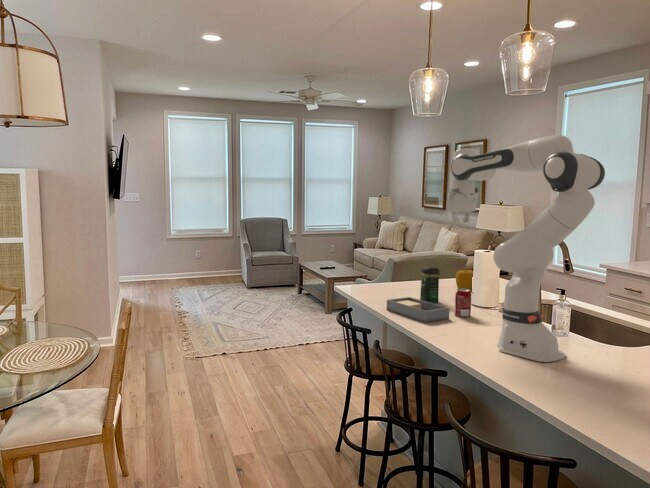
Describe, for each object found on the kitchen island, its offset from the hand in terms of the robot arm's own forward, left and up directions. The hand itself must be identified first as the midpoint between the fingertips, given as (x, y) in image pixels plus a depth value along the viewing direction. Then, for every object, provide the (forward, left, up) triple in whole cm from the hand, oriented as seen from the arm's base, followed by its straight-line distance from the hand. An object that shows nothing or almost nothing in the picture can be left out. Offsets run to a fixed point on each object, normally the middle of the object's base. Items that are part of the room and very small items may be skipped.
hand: (460, 222), depth 201 cm
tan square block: (+26, +4, -41) cm, 49 cm away
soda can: (+7, -12, -42) cm, 44 cm away
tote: (+19, +4, -42) cm, 46 cm away
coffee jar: (+34, -18, -42) cm, 57 cm away
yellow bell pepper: (+45, -56, -42) cm, 83 cm away
